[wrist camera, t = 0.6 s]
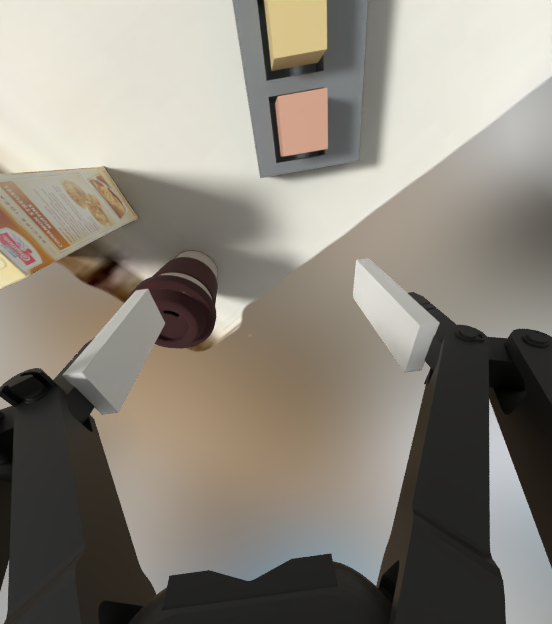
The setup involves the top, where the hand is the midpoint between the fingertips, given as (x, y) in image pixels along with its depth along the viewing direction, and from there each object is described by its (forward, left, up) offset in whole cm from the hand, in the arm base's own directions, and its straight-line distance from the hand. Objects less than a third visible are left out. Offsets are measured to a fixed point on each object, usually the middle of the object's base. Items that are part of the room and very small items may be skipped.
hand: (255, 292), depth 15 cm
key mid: (-16, +7, -19) cm, 26 cm away
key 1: (-9, +7, -19) cm, 22 cm away
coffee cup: (+7, -11, -23) cm, 27 cm away
